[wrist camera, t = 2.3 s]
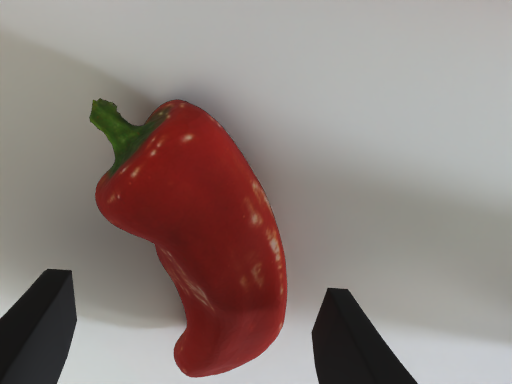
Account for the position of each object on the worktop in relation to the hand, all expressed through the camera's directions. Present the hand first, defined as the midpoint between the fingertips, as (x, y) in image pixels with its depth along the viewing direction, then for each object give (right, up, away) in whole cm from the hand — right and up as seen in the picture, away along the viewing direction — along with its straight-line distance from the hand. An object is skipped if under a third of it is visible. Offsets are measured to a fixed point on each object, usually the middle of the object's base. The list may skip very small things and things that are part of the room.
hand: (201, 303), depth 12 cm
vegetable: (0, +2, +3) cm, 4 cm away
